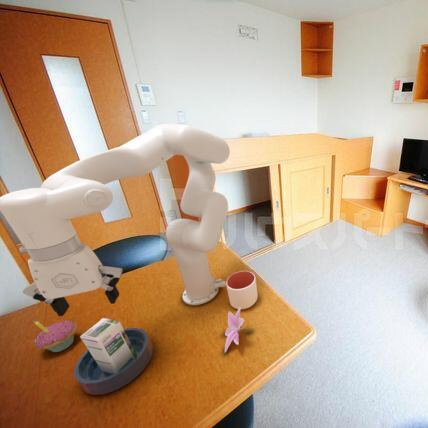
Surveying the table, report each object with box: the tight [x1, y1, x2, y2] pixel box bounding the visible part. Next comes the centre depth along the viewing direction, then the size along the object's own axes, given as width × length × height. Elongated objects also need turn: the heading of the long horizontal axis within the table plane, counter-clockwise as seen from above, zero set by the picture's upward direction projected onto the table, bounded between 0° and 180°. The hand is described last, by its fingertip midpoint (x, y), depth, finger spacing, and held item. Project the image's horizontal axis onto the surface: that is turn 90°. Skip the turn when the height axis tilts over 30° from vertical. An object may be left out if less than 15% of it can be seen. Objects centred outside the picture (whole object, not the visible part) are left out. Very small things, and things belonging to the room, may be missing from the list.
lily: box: [224, 307, 251, 354], centre depth 74 cm, size 12×12×10 cm
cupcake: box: [32, 320, 78, 353], centre depth 70 cm, size 9×8×12 cm
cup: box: [225, 270, 259, 310], centre depth 87 cm, size 10×10×10 cm
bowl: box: [73, 327, 154, 396], centre depth 66 cm, size 16×16×6 cm
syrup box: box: [79, 317, 137, 374], centre depth 63 cm, size 6×6×14 cm
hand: (90, 305), depth 58 cm, fingers open, 9 cm apart
